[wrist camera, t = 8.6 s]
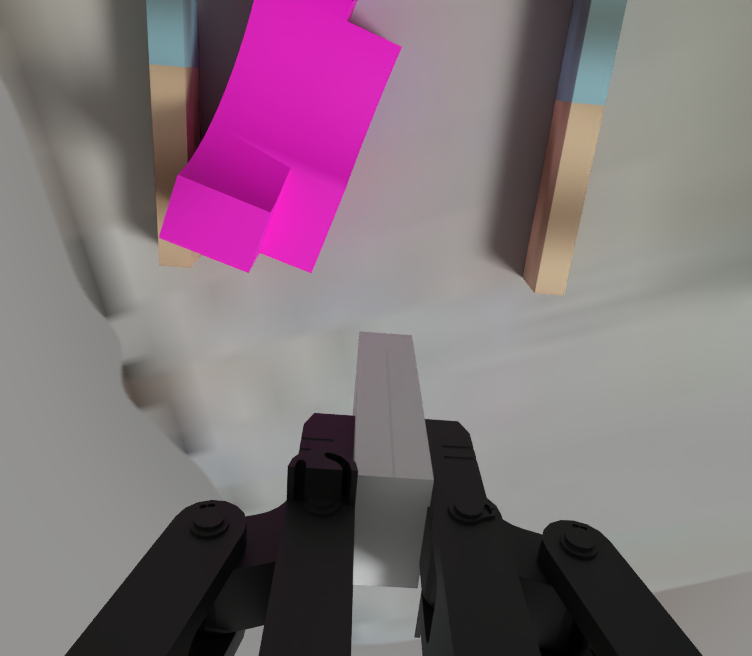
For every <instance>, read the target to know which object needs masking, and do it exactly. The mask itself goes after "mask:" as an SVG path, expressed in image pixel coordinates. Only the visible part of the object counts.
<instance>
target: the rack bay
mask: <svg viewBox="0 0 752 656" xmlns="http://www.w3.org/2000/svg"><path fill="white" fill-rule="evenodd" d="M626 3H627V0H574V2H573V7H572V13H571V18H570V24H569V29H568V34H567V40H566V45H565V51H564V56H563V62H562V67H561V72H560V78H559V83H558V89H557V94H556V99H555V105H554V110H553V116H552V121H551V127H550V132H549V137H548V143H547V148H546V154H545V159H544V165H543V170H542V175H541V181H540V186H539V192H538V197H537V202H536V208H535V213H534V219H533V224H532V230H531V235H530V240H529V246H528V251H527V257H526V262H525V268H524V273H523V279H524V280H525V281H526V283H527V284H528V285H529V286H530V288H531V289H532V290H533V292H534V293H540V294H553V295H564V293H565V289H566V284H567V279H568V275H569V270H570V265H571V261H572V256H573V251H574V247H575V242H576V237H577V233H578V228H579V223H580V219H581V214H582V209H583V205H584V200H585V195H586V190H587V186H588V181H589V176H590V172H591V167H592V162H593V158H594V153H595V148H596V144H597V139H598V134H599V130H600V125H601V120H602V116H603V111H604V106H605V102H606V97H607V92H608V88H609V83H610V78H611V74H612V69H613V64H614V59H615V55H616V50H617V45H618V41H619V36H620V31H621V27H622V22H623V17H624V13H625V8H626ZM146 10H147V30H148V50H149V69H150V89H151V109H152V129H153V148H154V168H155V188H156V208H157V227H158V247H159V265H161V266H174V267H188V268H191V267H192V266H193V265H194V263H195V262H196V261H197V260H198V259H199V258H200V256H201V254H199V253H196V252H194V251H191V250H188V249H186V248H183V247H181V246H178V245H176V244H173V243H170V242H168V241H165V240H163V239H160V238H159V234H160V231H161V228H162V225H163V221H164V218H165V215H166V211H167V208H168V205H169V201H170V198H171V195H172V191H173V188H174V185H175V182H176V178H177V175H178V174H179V173H180V172H181V171H182V170H183V169H184V167H185V166H186V165H187V164H188V162H189V161H190V159H191V158H192V157H193V155H194V153H195V152H196V150H197V149H198V147H199V145H200V103H199V59H198V15H197V0H146Z"/></svg>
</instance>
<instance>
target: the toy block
mask: <svg viewBox="0 0 752 656" xmlns="http://www.w3.org/2000/svg"><path fill="white" fill-rule="evenodd" d="M356 2H357V0H254V2H253V6H252V10H251V13H250V17H249V21H248V24H247V28H246V31H245V34H244V38H243V41H242V44H241V47H240V50H239V53H238V56H237V59H236V62H235V65H234V68H233V71H232V73H231V76H230V79H229V82H228V84H227V87H226V89H225V92H224V94H223V97H222V99H221V102H220V104H219V106H218V109H217V111H216V113H215V115H214V118H213V120H212V122H211V124H210V126H209V128H208V130H207V132H206V134H205V136H204V138H203V140H202V142H201V143H200V145H199V147H198V149H197V150H196V152H195V153H194V155H193V157H192V158H191V159H190V161H189V162H188V164H187V165H186V166H185V167H184V169H183V170H182V171H181V172H180V173H179V174H178V175H177V178H176V182H175V185H174V188H173V191H172V195H171V198H170V201H169V205H168V208H167V211H166V215H165V218H164V221H163V225H162V228H161V231H160V234H159V238H160V239H163V240H165V241H168V242H170V243H173V244H176V245H178V246H181V247H183V248H186V249H188V250H191V251H194V252H196V253H199V254H201V255H204V256H206V257H209V258H212V259H214V260H217V261H219V262H222V263H225V264H227V265H230V266H232V267H235V268H237V269H240V270H243V271H245V272H248V273H249V271H250V269H251V267H252V266H253V264H254V262H255V260H256V258H257V257H258V255H259V253H261V254H264V255H266V256H269V257H272V258H274V259H277V260H279V261H282V262H284V263H287V264H289V265H292V266H294V267H297V268H299V269H302V270H304V271H307V272H309V273H312V270H313V268H314V265H315V263H316V260H317V258H318V256H319V253H320V251H321V248H322V246H323V243H324V241H325V238H326V236H327V233H328V231H329V228H330V226H331V223H332V221H333V219H334V216H335V214H336V211H337V209H338V206H339V204H340V201H341V199H342V196H343V194H344V191H345V189H346V186H347V183H348V180H349V178H350V175H351V172H352V170H353V167H354V164H355V162H356V159H357V156H358V154H359V151H360V148H361V146H362V143H363V141H364V138H365V136H366V133H367V130H368V128H369V125H370V123H371V120H372V118H373V115H374V113H375V110H376V108H377V105H378V103H379V100H380V98H381V96H382V93H383V91H384V88H385V86H386V83H387V81H388V79H389V76H390V74H391V71H392V69H393V67H394V64H395V62H396V60H397V57H398V55H399V52H400V50H401V48H402V47H401V46H399V45H396V44H394V43H392V42H390V41H388V40H386V39H384V38H382V37H380V36H378V35H375V34H373V33H371V32H369V31H367V30H365V29H363V28H361V27H359V26H356V25H354V24H352V23H350V22H349V21H350V18H351V15H352V13H353V10H354V7H355V5H356Z"/></svg>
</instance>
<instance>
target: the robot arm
mask: <svg viewBox="0 0 752 656" xmlns="http://www.w3.org/2000/svg"><path fill="white" fill-rule="evenodd" d="M419 575H420V577H421V587H422V591H421V598H420V604H419V611H418V617H417V624H416V630H415V637H416V638H420V635H421V642H422V654H423V656H702V654H701V653H700V652H699V651H698V649H696V647H695V646H694V644H693V643H692V642H691V641H690V639H689V638H688V637H687V636H686V635H685V633H684V632H683V631H682V630H681V628H680V627H679V626H678V625H677V623H676V622H675V621H674V620H673V619H672V617H671V616H670V615H669V614H668V612H667V611H666V610H665V609H664V607H663V606H662V605H661V604H660V602H659V601H658V600H657V599H656V597H655V596H654V595H653V594H652V592H651V591H650V590H649V589H648V588H647V586H646V585H645V584H644V583H643V581H642V580H641V579H640V578H639V576H638V575H637V574H636V573H635V571H634V570H633V569H632V568H631V567H630V565H629V564H628V563H627V562H626V560H625V559H624V558H623V557H622V555H621V554H620V553H619V552H618V550H617V549H616V548H615V547H614V546H613V544H612V543H611V542H610V541H609V540H608V539H607V538H606V537H605V536H604V535H603V534H602V533H601V532H600V531H598V530H596V529H594V528H592V527H591V526H589V525H587V524H583V523H580V522H576V521H569V520H560V521H556V522H553V523H550V524H549V525H548V526H547V527H546V528H545V529H544V531H543V535H542V534H539V533H535V532H532V531H528V530H525V529H522V528H519V527H516V526H514V525H512V524H510V523H508V522H506V521H504V520H503V519H502V516H501V514H500V512H499V510H498V508H497V506H496V505H495V504H493V503H492V502H491V501H490V500H489V499H487V497H486V494H485V490H484V486H483V482H482V479H481V475H480V471H479V467H478V463H477V461H476V456H475V452H474V450H473V445H472V441H471V437H470V434H469V433H468V431H467V430H466V429H465V428H464V427H463V426H462V425H461V424H460V423H459V422H458V421H444V420H430V419H425V418H424V412H423V405H422V398H421V392H420V385H419V378H418V372H417V365H416V359H415V352H414V345H413V339H412V335H399V334H386V333H373V332H359V344H358V356H357V369H356V381H355V393H354V405H353V416H350V415H336V414H321V413H314V414H313V415H312V416H311V417H310V418H309V419H308V420H307V421H306V422H305V424H304V427H303V432H302V438H301V443H300V450H299V454H298V455H297V456H295V457H294V458H292V460H291V462H290V464H289V465H288V478H287V500H286V501H285V502H284V503H283V504H282V505H280V506H279V507H278V508H275V509H273V510H271V511H269V512H265V513H262V514H257V515H252V516H246V517H245V514H244V512H243V511H242V510H241V509H239V508H238V507H237V506H236V505H234V504H231V503H229V502H226V501H217V500H209V501H204V502H198V503H195V504H193V505H191V506H188V507H186V508H185V509H184V510H182V511H181V512H180V513H179V514H178V515H177V516H176V517H175V518H174V519H173V520H172V522H171V523H170V524H169V525H168V527H167V528H166V529H165V530H164V532H163V533H162V534H161V536H160V537H159V538H158V539H157V540H156V542H155V543H154V544H153V545H152V547H151V548H150V549H149V550H148V552H147V553H146V554H145V556H144V557H143V558H142V559H141V561H140V562H139V563H138V564H137V566H136V567H135V568H134V569H133V571H132V572H131V573H130V575H129V576H128V577H127V578H126V579H125V581H124V582H123V583H122V584H121V586H120V587H119V588H118V589H117V591H116V592H115V593H114V594H113V596H112V597H111V598H110V599H109V601H108V602H107V603H106V604H105V606H104V607H103V608H102V609H101V611H100V612H99V613H98V615H97V616H96V617H95V618H94V619H93V621H92V622H91V623H90V624H89V626H88V627H87V628H86V630H85V631H84V632H83V633H82V634H81V636H80V637H79V638H78V639H77V641H76V642H75V643H74V645H73V646H72V647H71V648H70V649H69V651H68V652H67V653H66V655H65V656H234V655H235V653H236V651H237V649H238V647H239V645H240V643H241V641H242V639H243V637H244V633H245V629H249V628H254V627H258V626H262V625H264V629H263V635H262V641H261V646H260V651H259V656H351V635H352V599H353V585H370V586H388V587H405V588H418V582H419Z"/></svg>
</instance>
